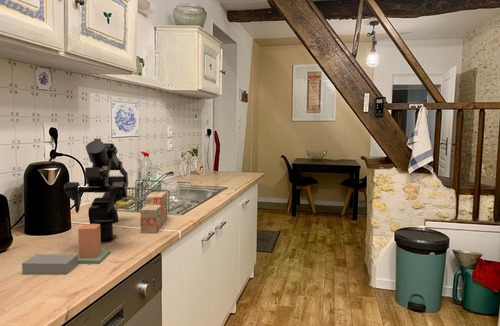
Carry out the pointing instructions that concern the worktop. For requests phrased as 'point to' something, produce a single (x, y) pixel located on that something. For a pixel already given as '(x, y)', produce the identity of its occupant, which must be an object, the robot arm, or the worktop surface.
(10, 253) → the worktop surface
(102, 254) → the green mat
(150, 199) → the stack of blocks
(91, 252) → the terracotta block
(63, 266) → the slate block
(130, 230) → the worktop surface
